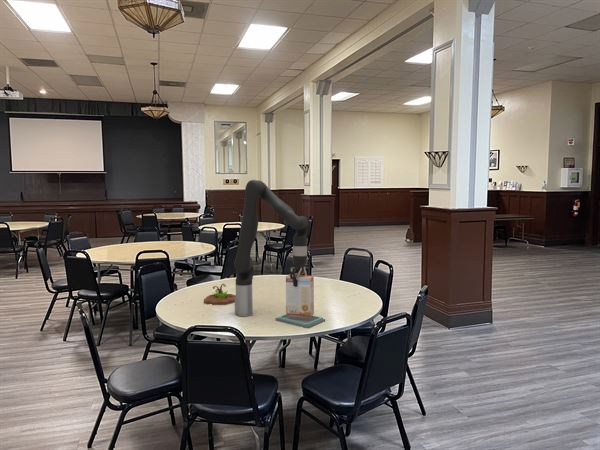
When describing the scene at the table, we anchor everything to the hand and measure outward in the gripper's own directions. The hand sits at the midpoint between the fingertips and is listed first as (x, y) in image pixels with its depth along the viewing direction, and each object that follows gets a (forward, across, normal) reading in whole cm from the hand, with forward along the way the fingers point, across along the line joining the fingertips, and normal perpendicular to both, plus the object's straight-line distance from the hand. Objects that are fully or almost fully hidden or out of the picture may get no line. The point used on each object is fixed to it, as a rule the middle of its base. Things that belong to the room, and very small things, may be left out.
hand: (299, 285), depth 230 cm
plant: (+20, +1, +64) cm, 67 cm away
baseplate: (+19, 0, 0) cm, 19 cm away
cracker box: (+16, 0, 0) cm, 16 cm away
